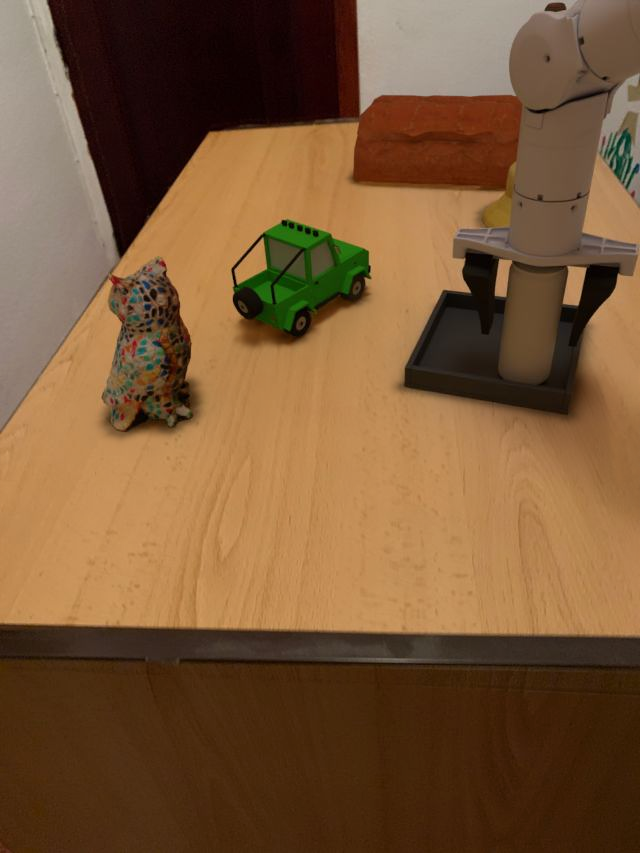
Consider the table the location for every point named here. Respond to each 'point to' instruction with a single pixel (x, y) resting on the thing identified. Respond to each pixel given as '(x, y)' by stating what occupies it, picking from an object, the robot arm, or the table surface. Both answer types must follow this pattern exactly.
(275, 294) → the toy car
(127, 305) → the figurine
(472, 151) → the bread
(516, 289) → the beverage can
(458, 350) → the tray
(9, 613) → the table surface
